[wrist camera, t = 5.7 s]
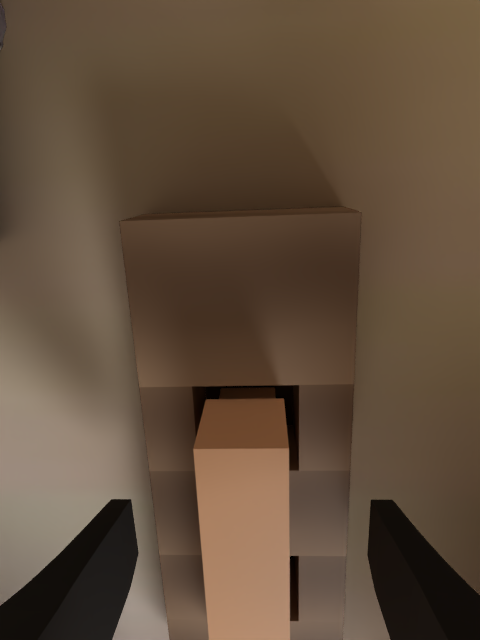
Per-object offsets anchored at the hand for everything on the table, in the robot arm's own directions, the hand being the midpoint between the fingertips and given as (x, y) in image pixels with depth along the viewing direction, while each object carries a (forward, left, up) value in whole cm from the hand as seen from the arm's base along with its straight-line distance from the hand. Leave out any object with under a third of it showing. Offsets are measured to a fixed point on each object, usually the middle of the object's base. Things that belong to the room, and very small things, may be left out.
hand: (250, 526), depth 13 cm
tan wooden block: (0, 0, -3) cm, 3 cm away
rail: (0, 0, -3) cm, 3 cm away
